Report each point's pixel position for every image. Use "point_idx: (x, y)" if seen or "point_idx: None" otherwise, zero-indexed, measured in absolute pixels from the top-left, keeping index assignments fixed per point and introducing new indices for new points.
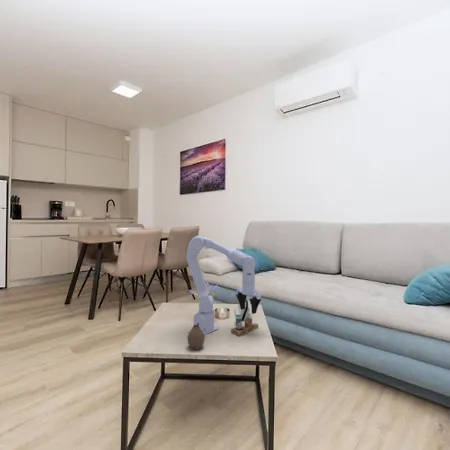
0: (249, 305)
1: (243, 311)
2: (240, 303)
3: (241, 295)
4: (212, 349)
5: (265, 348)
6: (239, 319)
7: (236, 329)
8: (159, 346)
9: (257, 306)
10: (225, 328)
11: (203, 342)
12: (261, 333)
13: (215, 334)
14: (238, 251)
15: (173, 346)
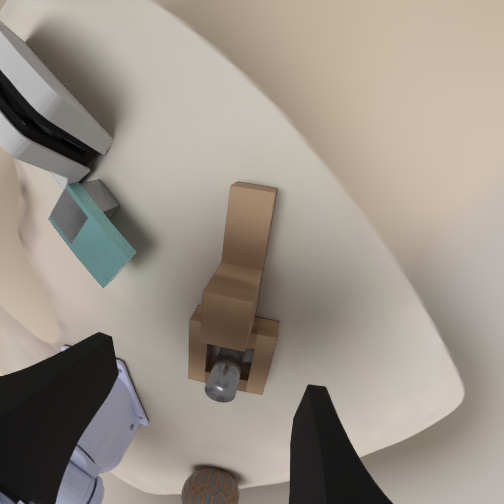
0: (27, 77)
1: (49, 157)
2: (82, 431)
3: (30, 496)
4: (265, 470)
5: (437, 387)
6: (121, 268)
7: (207, 355)
8: (154, 479)
9: (354, 460)
10: (132, 334)
11: (237, 490)
12: (357, 264)
13: (167, 404)
14: None
15: (172, 477)
